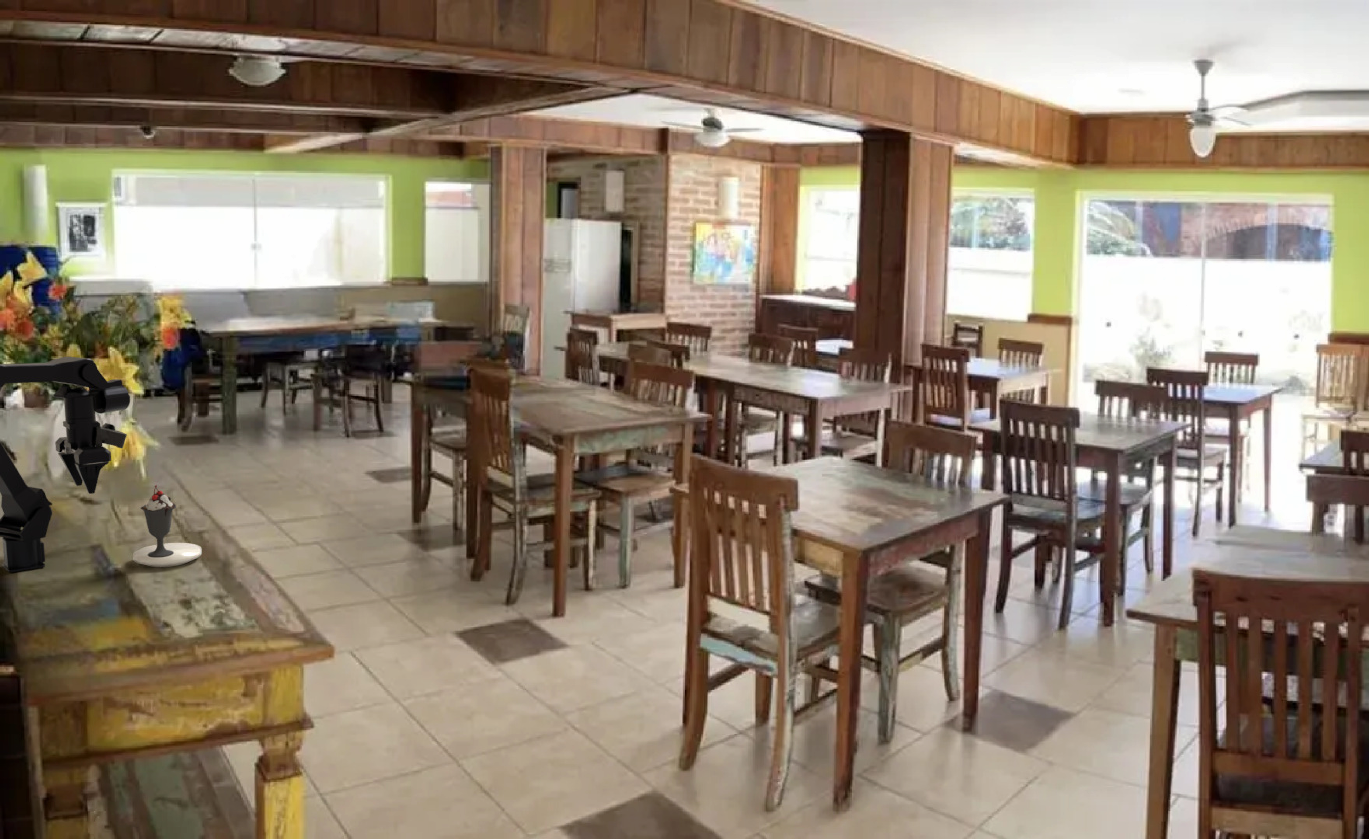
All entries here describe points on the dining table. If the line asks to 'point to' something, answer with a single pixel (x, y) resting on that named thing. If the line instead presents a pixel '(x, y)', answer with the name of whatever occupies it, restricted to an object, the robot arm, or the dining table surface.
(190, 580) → the dining table surface
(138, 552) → the stand
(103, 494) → the dining table surface
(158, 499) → the sundae
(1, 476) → the robot arm
